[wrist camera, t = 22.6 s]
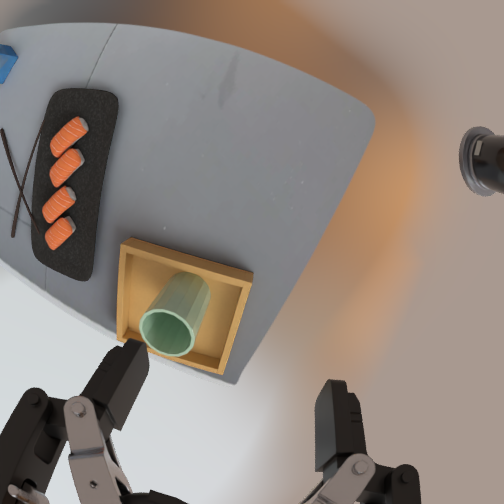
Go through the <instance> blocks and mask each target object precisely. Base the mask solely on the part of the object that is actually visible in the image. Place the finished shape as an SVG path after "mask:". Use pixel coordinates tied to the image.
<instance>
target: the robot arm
mask: <svg viewBox="0 0 504 504" xmlns="http://www.w3.org/2000/svg"><path fill="white" fill-rule="evenodd" d="M468 164H469V169H470V173H471V175H472V178H473V180H474V181H475V183H476V184H477V185H478V186H479V187H481V188H483V189H487V190H492V191H496V192H499V193H503V194H504V136H503V135H488V134H480V135H477V136H476V137H475V138H474V139H473V140H472V142H471V144H470V147H469V152H468ZM148 371H149V358H148V352H147V345H146V343H145V342H142V341H139V340H136V339H132V338H129V339H128V340H127V341H126V343H125V344H124V346H123V347H120V346H116V347H114V348H113V349H111V350H110V351H108V353H107V354H106V356H105V357H104V359H103V361H102V362H101V363H100V365H99V366H98V369H97V370H96V371H95V373H94V374H93V376H92V377H91V379H90V380H89V382H88V384H87V385H86V387H85V388H84V390H83V392H82V393H81V394H80V395H79V396H74V397H72V398H70V399H68V400H63V399H57V398H52V397H48V396H47V394H46V393H45V391H43V390H42V389H40V388H30V389H28V390H27V391H26V392H25V393H24V394H23V396H22V398H21V399H20V401H19V403H18V405H17V406H16V408H15V409H14V411H13V413H12V414H11V416H10V418H9V420H8V422H7V423H6V425H5V427H4V429H3V431H2V433H1V434H0V504H49V501H48V499H47V497H46V496H45V492H46V489H47V487H48V484H49V482H50V479H51V477H52V474H53V472H54V469H55V467H56V464H57V462H58V459H59V457H60V455H61V452H62V450H63V448H64V446H65V443H66V441H69V445H70V449H71V454H69V456H68V460H69V465H70V469H71V473H72V476H73V480H74V484H75V487H76V490H77V493H78V497H79V500H80V502H81V504H187V503H186V502H183V501H182V500H180V499H178V498H176V497H172V496H169V495H165V494H162V493H159V492H156V491H153V490H150V492H149V493H133V492H132V490H131V487H130V485H129V482H128V480H127V478H126V476H125V475H124V473H123V471H122V468H121V466H120V463H119V460H118V457H117V454H116V451H115V448H114V445H113V442H112V439H111V435H110V434H111V432H112V429H113V428H115V429H117V430H120V431H121V429H122V427H123V425H124V423H125V421H126V419H127V416H128V414H129V412H130V410H131V408H132V406H133V404H134V402H135V399H136V397H137V395H138V393H139V391H140V389H141V387H142V385H143V383H144V381H145V379H146V377H147V375H148ZM315 472H323V478H322V479H321V481H320V482H319V483H318V484H317V485H316V486H315V487H314V488H313V489H312V491H310V493H309V494H308V495H307V496H306V497H305V498H304V499H303V500H302V501H301V502H300V503H299V504H353V503H354V502H355V501H357V502H360V504H421V494H420V482H419V475H418V472H417V470H416V469H415V468H414V467H413V466H411V465H408V464H403V465H400V466H398V467H397V468H391V467H386V466H382V465H378V464H376V463H375V462H374V461H373V460H372V459H371V458H370V457H369V456H368V454H367V451H366V443H365V435H364V428H363V423H362V414H361V408H360V402H359V400H358V399H357V397H356V395H355V394H354V393H348V391H347V385H346V382H345V381H343V380H330V379H329V380H327V382H326V383H325V385H324V387H323V389H322V390H321V392H320V394H319V396H318V398H317V400H316V404H315Z"/></svg>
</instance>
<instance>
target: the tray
mask: <svg viewBox="0 0 504 504" xmlns="http://www.w3.org/2000/svg"><path fill="white" fill-rule="evenodd" d="M180 272H190V273H194V274H196V275H198V276H200V277H201V278H202V279H203V280H204V281H205V282H206V283H207V285H208V286H209V289H210V292H211V299H210V303H209V306H208V309H207V312H206V314H205V317H204V319H203V322H202V325H201V327H200V330H199V333H198V335H197V338H196V341H195V343H194V346H193V348H192V349H191V350H190V351H189V352H188V353H187V354H184V355H182V356H178V357H176V356H166V355H163V354H160V353H158V352H156V351H155V350H153V349H152V348H151V347H149V346H148V344H147V343H146V342H145V341H144V340H143V338H142V336H141V333H140V330H139V323H140V319H141V318H142V316H143V315H144V313H145V312H146V310H147V309H148V307H149V306H150V305H151V303H152V302H153V301H154V299H155V298H156V296H157V295H158V294H159V292H160V291H161V290H162V288H163V287H164V286H165V284H166V283H167V282H168V280H169V279H170V278H171V277H172V276H173V275H175V274H177V273H180ZM252 280H253V273H251V272H248V271H244V270H241V269H237V268H234V267H230V266H227V265H223V264H220V263H216V262H213V261H209V260H206V259H202V258H199V257H196V256H192V255H189V254H185V253H182V252H179V251H175V250H172V249H168V248H165V247H162V246H158V245H155V244H152V243H148V242H145V241H142V240H139V239H135V238H132V237H130V238H129V239H127V240H126V241H124V242H123V243H121V247H120V259H119V272H118V290H117V340H118V341H120V342H123V343H126V341H127V340H128V339H129V338H132V339H136V340H139V341H142V342H145V343H146V345H147V352H150V353H153V354H155V355H158V356H161V357H164V358H167V359H170V360H173V361H176V362H179V363H183V364H186V365H189V366H192V367H196V368H199V369H203V370H206V371H210V372H213V373H217V374H221V375H223V373H224V369H225V366H226V363H227V360H228V357H229V354H230V351H231V348H232V345H233V342H234V338H235V335H236V332H237V329H238V326H239V323H240V320H241V317H242V313H243V310H244V307H245V304H246V301H247V298H248V295H249V291H250V288H251V285H252Z"/></svg>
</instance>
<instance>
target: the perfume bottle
mask: <svg viewBox="0 0 504 504" xmlns="http://www.w3.org/2000/svg"><path fill="white" fill-rule="evenodd" d="M17 59H18V56H17V55H16V53H15V52H14V50H13V49H12V48H11V46H6V45H2V44H0V83H1V84H3V82H4V80H5V79H6V77H7V75H8V73H9V72H10V70H11V68H12V67H13V65H14V63H15V62H16V60H17Z"/></svg>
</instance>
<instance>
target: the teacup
mask: <svg viewBox="0 0 504 504" xmlns="http://www.w3.org/2000/svg"><path fill="white" fill-rule="evenodd" d="M210 299H211V292H210V289H209V286H208V285H207V283H206V282H205V281H204V280H203V279H202V278H201V277H200V276H198V275H196V274H194V273H190V272H180V273H177V274H175V275H173V276H172V277H171V278H170V279H169V280H168V282H167V283H166V284H165V286H164V287H163V288H162V290H161V291H160V292H159V294H158V295H157V296H156V298H155V299H154V301H153V302H152V303H151V305H150V306H149V307H148V309H147V310H146V312H145V313H144V315H143V316H142V318H141V319H140V323H139V330H140V333H141V336H142V338H143V340H144V341H145V342H146V343H147V344H148V346H149V347H151V348H152V349H153V350H155V351H156V352H158V353H160V354H163V355H166V356H176V357H178V356H182V355H184V354H187V353H188V352H189V351H190V350H191V349H192V348H193V346H194V343H195V341H196V338H197V335H198V333H199V330H200V327H201V325H202V322H203V319H204V317H205V314H206V312H207V309H208V306H209V303H210Z"/></svg>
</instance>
